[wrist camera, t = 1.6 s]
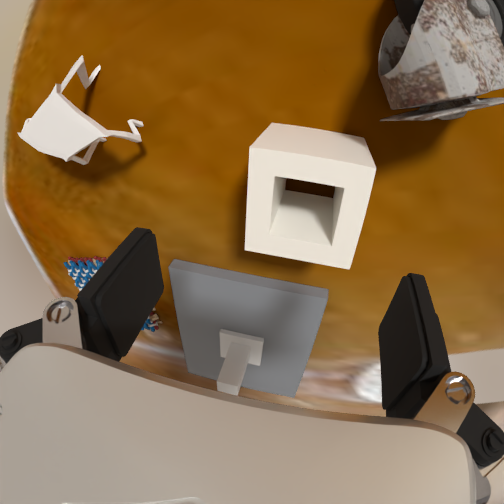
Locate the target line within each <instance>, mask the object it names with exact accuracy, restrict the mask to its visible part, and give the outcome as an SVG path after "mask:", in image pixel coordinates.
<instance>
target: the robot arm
mask: <svg viewBox="0 0 504 504" xmlns="http://www.w3.org/2000/svg"><path fill="white" fill-rule="evenodd" d="M163 289H164V285H163V279H162V273H161V268H160V262H159V255H158V249H157V243H156V237H155V234H152V231H151V230H150V229H145V228H138V227H137V228H135V229H134V230H133V231H132V232H131V233H130V234H129V235H128V237H127V238H126V239H125V240H124V241H123V242H122V243H121V244H120V245H119V246H118V248H117V249H116V250H115V251H114V252H113V253H112V254H111V255H110V257H109V258H108V259H107V260H106V261H105V262H104V264H103V265H102V266H101V267H100V268H99V269H98V271H97V272H96V273H95V274H94V275H93V276H92V278H91V279H90V280H89V281H88V282H87V284H86V285H85V286H84V287H83V289H82V290H81V291H80V292H79V293H78V295H77V296H78V298H77V299H76V300H75V301H74V300H73V299H71V298H69V297H62V298H58V299H55V300H54V301H52V302H51V303H49V304H48V305H47V307H46V308H45V310H44V312H43V318H41V319H39V320H36V321H33V322H30V323H27V324H24V325H21V326H19V327H16V328H13V329H10V330H8V331H6V332H5V333H4V334H3V335H2V336H1V337H0V504H504V432H503V431H502V430H501V428H500V427H499V426H498V425H497V424H495V423H494V422H493V421H492V420H491V419H490V418H489V417H488V416H487V415H486V414H485V413H484V412H483V411H482V410H481V409H480V408H479V407H478V406H477V405H476V404H475V403H473V401H474V398H475V390H474V386H473V384H472V382H471V381H470V379H468V377H467V376H465V375H464V374H462V373H459V372H451V369H450V363H449V360H448V354H447V350H446V346H445V341H444V337H443V333H442V329H441V326H440V322H439V318H438V316H437V314H436V313H435V310H434V307H433V303H432V300H431V296H430V293H429V290H428V287H427V283H426V280H425V277H424V276H423V275H419V274H413V273H409V274H408V275H407V276H403V277H402V279H401V281H400V284H399V286H398V288H397V290H396V293H395V295H394V297H393V299H392V301H391V303H390V305H389V308H388V310H387V312H386V314H385V316H384V318H383V320H382V322H381V324H380V326H379V332H378V335H379V347H380V362H381V381H382V407H383V409H385V410H386V417H380V416H367V415H357V414H347V413H338V412H329V411H321V410H313V409H306V408H299V407H293V406H287V405H281V404H275V403H270V402H264V401H259V400H254V399H249V398H245V397H240V396H235V395H231V394H227V393H222V392H218V391H214V390H210V389H206V388H202V387H199V386H195V385H191V384H187V383H184V382H180V381H177V380H173V379H170V378H167V377H163V376H160V375H157V374H154V373H151V372H147V371H144V370H141V369H138V368H135V367H133V366H130V365H127V364H124V363H121V362H119V361H120V359H121V358H122V356H123V357H124V356H126V355H127V353H128V351H129V350H130V348H131V346H132V344H133V343H134V341H135V339H136V337H137V336H138V334H139V332H140V330H141V329H142V327H143V325H144V324H145V322H146V320H147V319H148V317H149V315H150V313H151V312H152V310H153V308H154V307H155V305H156V303H157V302H158V300H159V298H160V297H161V295H162V293H163Z"/></svg>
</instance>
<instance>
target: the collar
mask: <svg viewBox="0 0 504 504" xmlns="http://www.w3.org/2000/svg"><path fill="white" fill-rule="evenodd" d="M375 172H376V166H375V164H374V161H373V159H372V156H371V154H370V151H369V149H368V146H367V144H366V141H365V139H364V138H363V137H358V136H353V135H348V134H343V133H337V132H332V131H326V130H320V129H314V128H308V127H301V126H294V125H286V124H278V123H271V124H270V125H269V127H268V128H267V129H266V130H265V131H264V132H263V133H262V134H261V135H260V136H259V137H258V139H257V140H256V141H255V142H254V143H253V144H252V145H251V146H250V148H249V168H248V189H247V210H246V231H245V250H247V251H252V252H258V253H263V254H268V255H274V256H279V257H285V258H290V259H295V260H301V261H306V262H312V263H317V264H323V265H328V266H333V267H339V268H344V269H350V266H351V263H352V259H353V256H354V253H355V249H356V246H357V242H358V239H359V235H360V232H361V228H362V225H363V221H364V217H365V213H366V209H367V205H368V202H369V198H370V193H371V189H372V185H373V181H374V177H375ZM286 178H290V179H297V180H303V181H309V182H314V183H320V184H326V185H331V186H335V191H334V196H333V198H329V197H324V196H318V195H313V194H307V193H301V192H295V191H289V190H285V187H286Z"/></svg>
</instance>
